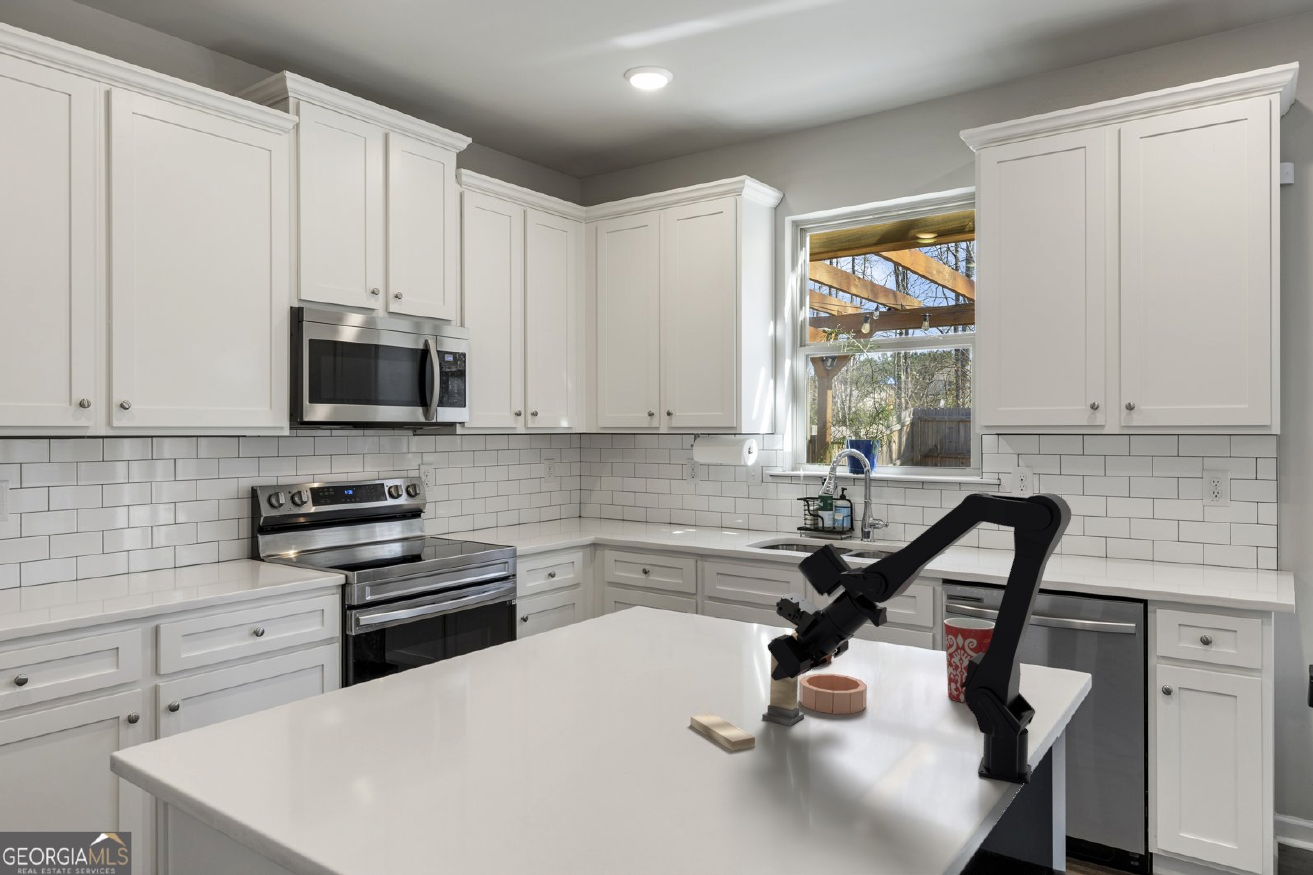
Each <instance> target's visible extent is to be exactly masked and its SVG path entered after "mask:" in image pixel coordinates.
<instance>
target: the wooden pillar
mask: <svg viewBox="0 0 1313 875" xmlns="http://www.w3.org/2000/svg"><path fill="white" fill-rule="evenodd" d="M775 638H776V637H774V638H772V639H771V640H770V642H772V641H773V640H774V639H775ZM777 664H778V662H777V660H776V659H775V658H774V656H773V655H772V654H771V653H770V684H769V688H770V692H769V704H767V711H765V712H764V713H763V714H762V715H761V716H762V718H761V719H762V720H764V721H769V722H772V723H776V724H780V725H784V726H788V727H791V726H792V725H794V724H796V723H798V722H800V721H801V720H803V719H804V718H805V712H801V711H800V706H798V683H799V681H798V679H799V678H798V677H799V676H797V677H795V678H793V679H792V678H790V677H788V678H784V679H780V680H777V681H775V680H774V679H773V678H772V676H771V675H772V673H773V671H774V670H775V668H776V666H777Z"/></svg>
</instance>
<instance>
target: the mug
mask: <svg viewBox="0 0 1313 875" xmlns="http://www.w3.org/2000/svg"><path fill="white" fill-rule="evenodd" d="M995 623H996V622H993V621H990V620H989V621H988V620H986V619H985V620H983V619H977V618H970V617H969V618H968V617H965V618H964V617H953V618H951V617H950V618H947V619H945V620H943V624H944V631H945V634H944V635H945V637H944V638H945V654H946V656H945V657H946V673H947V674H946V675H947V676H946V678H947V695H948V697H949V698H950V699H952V700H954V701H956V702H959V703H965V700H964V691H965V689H966V688H961V685H962V684H963V682H964V681H965V679H966V676H967V667H968V662H969V660H970V659H972V658H973V657H975V656H976V655H977V654H979V653H980V652H982V653H984V654H985V653H986V652H987V650H988V647H989V643H990V640H991V637H992V633H993V630H994V626H995ZM965 704H966V703H965Z"/></svg>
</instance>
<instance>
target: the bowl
mask: <svg viewBox="0 0 1313 875" xmlns="http://www.w3.org/2000/svg"><path fill="white" fill-rule="evenodd" d="M798 683H799V688H798V689H799V690H798V695H799V696H798V698H799V699H798V700H799V702H800V703H801V705H802V706H803V707H805V708H807V709H810V710H812V711H815V712H820V713H821V712H822V713H827V714H834V715H838V714H839V715H840V714H841V715H842V714H843V715H844V714H849V715H851V714H854V713H859V712H862V711H864V710H865V708H866V707H867V701H868V700H867V699H868V698H867V694H868V692H867V691H868V686H867V684H866V683H865V682H864V681H863V680H862V679H859V678H857V677H853V676H850V675H844V674H837V673H813V674H808V675H804V676H803V677H801V678H800V679H799V682H798Z"/></svg>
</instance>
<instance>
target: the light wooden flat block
mask: <svg viewBox="0 0 1313 875" xmlns="http://www.w3.org/2000/svg"><path fill="white" fill-rule="evenodd" d="M690 726H692V727H693V728H694V729H697V730H698V731H700V732H701V733H703V734H705V735H706V736H708V737H709V738H710V739H713V740H714V741H715V742H717V743H718V744H721V745H722V746H724V747H726V748H727V749H729V750H730V751H732V752H733V751H737V750H739V751H740V750H742V749H743V750H744V749H748V748H753V747H755V746H756V737H755V736H753V735H751V734H749V732H746V731H745V730H743V729H741V728H739V727H738V726H736V725H734V724H732V723H730V722H729V721H727V720H725V719H723V718H722V717H720V716H718V715H716V714H715V713H713V712H708V713H703V714H697V715H691V716H690Z"/></svg>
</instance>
